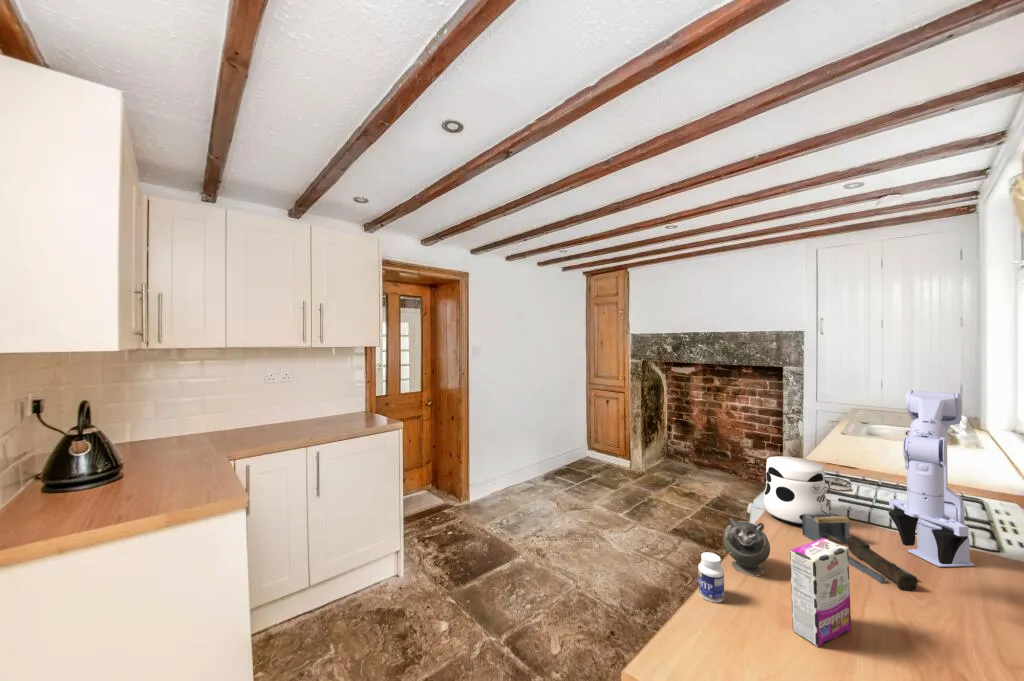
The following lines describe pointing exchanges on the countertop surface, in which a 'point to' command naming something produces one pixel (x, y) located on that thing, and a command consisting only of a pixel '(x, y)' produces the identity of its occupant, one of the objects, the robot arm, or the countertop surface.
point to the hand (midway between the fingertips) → (926, 553)
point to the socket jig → (835, 536)
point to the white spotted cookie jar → (794, 488)
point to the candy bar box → (820, 591)
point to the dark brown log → (882, 564)
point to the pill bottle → (711, 578)
